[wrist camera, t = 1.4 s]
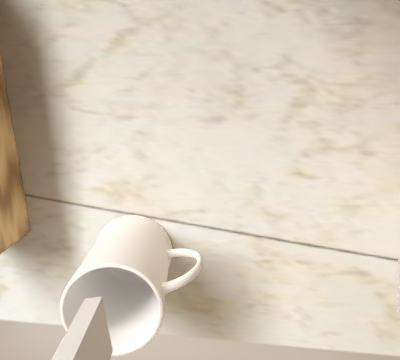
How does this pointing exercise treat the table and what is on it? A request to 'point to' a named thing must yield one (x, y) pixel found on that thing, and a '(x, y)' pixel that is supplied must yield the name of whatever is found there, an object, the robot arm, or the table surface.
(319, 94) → the table surface
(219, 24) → the table surface
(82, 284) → the mug
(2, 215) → the plank
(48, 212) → the table surface
